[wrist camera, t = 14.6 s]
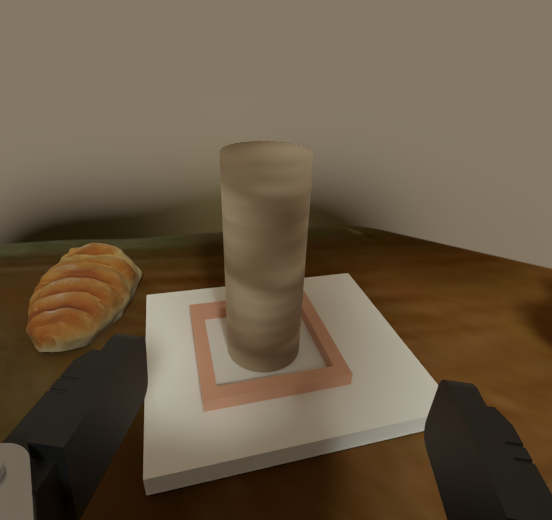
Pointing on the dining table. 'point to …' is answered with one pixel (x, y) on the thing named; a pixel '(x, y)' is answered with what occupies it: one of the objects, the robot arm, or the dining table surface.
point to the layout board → (272, 387)
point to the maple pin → (264, 249)
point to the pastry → (81, 297)
